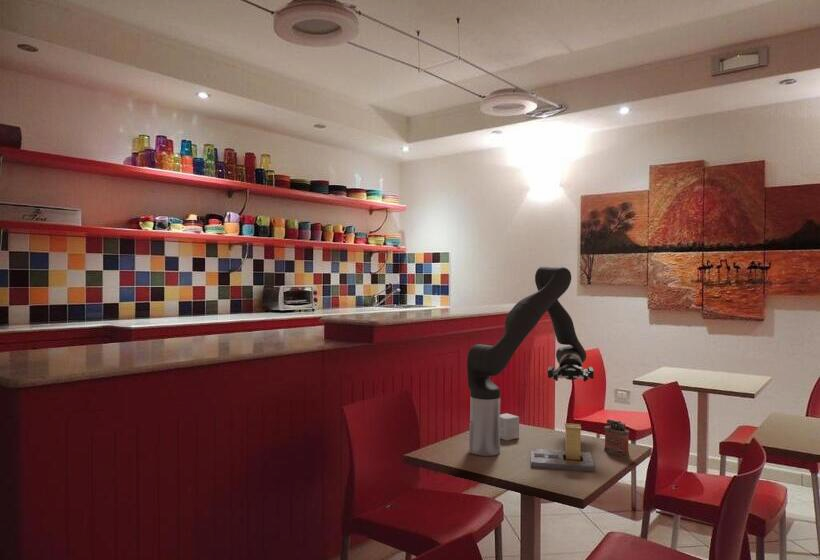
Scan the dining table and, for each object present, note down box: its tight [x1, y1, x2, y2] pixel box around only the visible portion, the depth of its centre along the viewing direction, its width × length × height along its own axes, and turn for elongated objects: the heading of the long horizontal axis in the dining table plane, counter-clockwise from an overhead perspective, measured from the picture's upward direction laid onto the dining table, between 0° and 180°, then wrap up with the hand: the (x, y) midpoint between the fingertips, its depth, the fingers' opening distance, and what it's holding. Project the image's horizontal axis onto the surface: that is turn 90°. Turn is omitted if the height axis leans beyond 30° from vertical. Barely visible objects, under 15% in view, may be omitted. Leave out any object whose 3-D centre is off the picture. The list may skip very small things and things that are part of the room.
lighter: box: [603, 419, 630, 457], centre depth 177 cm, size 8×3×10 cm, turn 37°
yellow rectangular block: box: [564, 422, 582, 461], centre depth 167 cm, size 4×4×11 cm
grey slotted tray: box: [530, 448, 596, 473], centre depth 168 cm, size 18×13×2 cm
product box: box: [500, 413, 520, 441], centre depth 194 cm, size 6×6×7 cm
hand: (570, 378), depth 178 cm, fingers open, 8 cm apart
